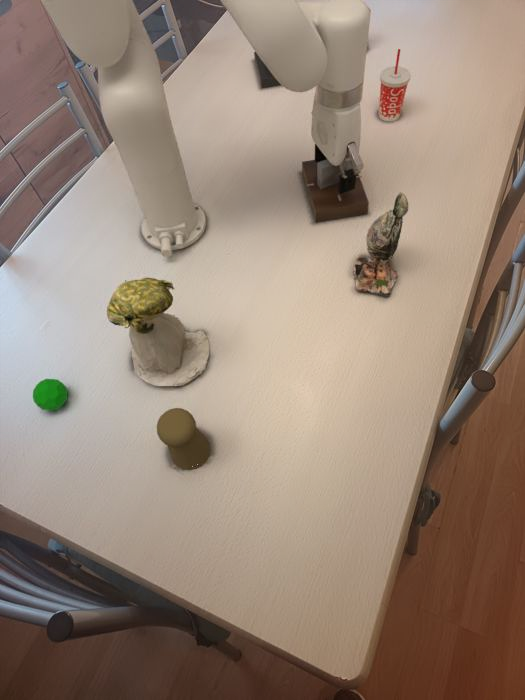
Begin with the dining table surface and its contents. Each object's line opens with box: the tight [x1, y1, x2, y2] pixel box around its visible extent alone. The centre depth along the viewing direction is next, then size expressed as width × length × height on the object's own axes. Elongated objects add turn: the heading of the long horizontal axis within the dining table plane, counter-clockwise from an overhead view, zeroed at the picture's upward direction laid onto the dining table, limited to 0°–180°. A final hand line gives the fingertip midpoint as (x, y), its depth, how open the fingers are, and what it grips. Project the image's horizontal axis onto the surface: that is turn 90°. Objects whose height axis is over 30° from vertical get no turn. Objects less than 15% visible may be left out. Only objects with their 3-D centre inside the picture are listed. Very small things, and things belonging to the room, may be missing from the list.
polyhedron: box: [32, 378, 68, 411], centre depth 78 cm, size 5×5×5 cm
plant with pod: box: [352, 191, 409, 298], centre depth 79 cm, size 8×11×20 cm
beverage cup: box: [378, 48, 412, 122], centre depth 103 cm, size 6×6×14 cm
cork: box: [156, 407, 212, 471], centre depth 69 cm, size 6×6×11 cm
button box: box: [253, 51, 282, 89], centre depth 119 cm, size 12×10×4 cm
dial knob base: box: [301, 159, 370, 224], centre depth 97 cm, size 14×11×3 cm
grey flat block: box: [317, 153, 352, 189], centre depth 94 cm, size 6×2×5 cm, turn 114°
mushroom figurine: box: [106, 277, 210, 387], centre depth 75 cm, size 12×13×18 cm
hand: (334, 174), depth 95 cm, fingers open, 9 cm apart
